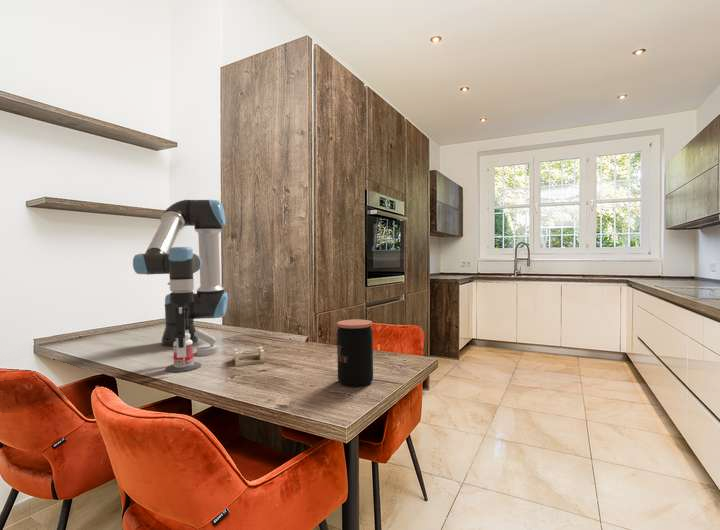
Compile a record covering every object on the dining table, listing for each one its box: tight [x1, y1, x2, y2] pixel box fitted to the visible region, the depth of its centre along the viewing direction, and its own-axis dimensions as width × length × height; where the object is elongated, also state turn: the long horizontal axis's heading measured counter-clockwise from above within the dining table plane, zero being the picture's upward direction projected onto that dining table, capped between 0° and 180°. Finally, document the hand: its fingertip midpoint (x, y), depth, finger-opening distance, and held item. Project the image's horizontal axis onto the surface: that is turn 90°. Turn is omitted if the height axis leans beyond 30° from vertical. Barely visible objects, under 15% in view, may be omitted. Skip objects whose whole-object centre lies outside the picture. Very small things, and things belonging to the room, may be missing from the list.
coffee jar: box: [336, 318, 374, 388], centre depth 115 cm, size 11×11×18 cm
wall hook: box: [194, 328, 221, 357], centre depth 154 cm, size 9×10×10 cm
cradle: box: [233, 346, 266, 367], centre depth 141 cm, size 10×10×4 cm
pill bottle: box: [172, 333, 194, 368], centre depth 133 cm, size 6×6×11 cm
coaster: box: [165, 361, 202, 373], centre depth 133 cm, size 11×11×1 cm
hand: (183, 352), depth 133 cm, fingers open, 13 cm apart
